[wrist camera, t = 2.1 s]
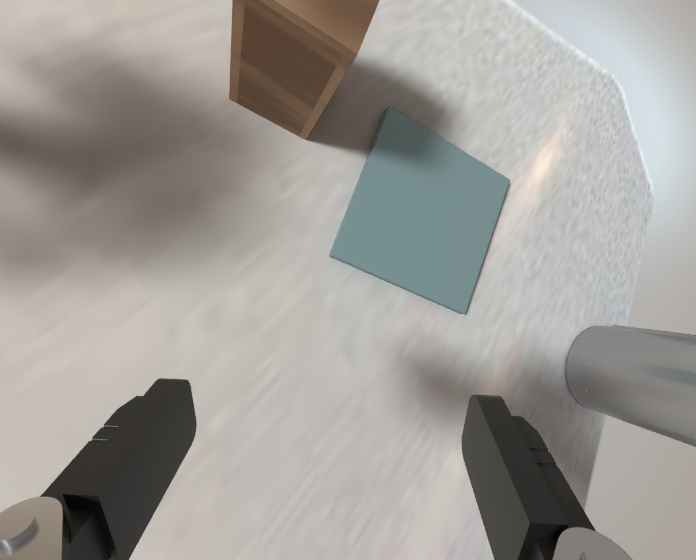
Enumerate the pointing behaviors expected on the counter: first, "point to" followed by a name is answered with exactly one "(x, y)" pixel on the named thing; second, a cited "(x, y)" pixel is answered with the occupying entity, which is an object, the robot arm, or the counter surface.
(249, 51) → the walnut cover
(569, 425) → the counter surface
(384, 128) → the teal mat
